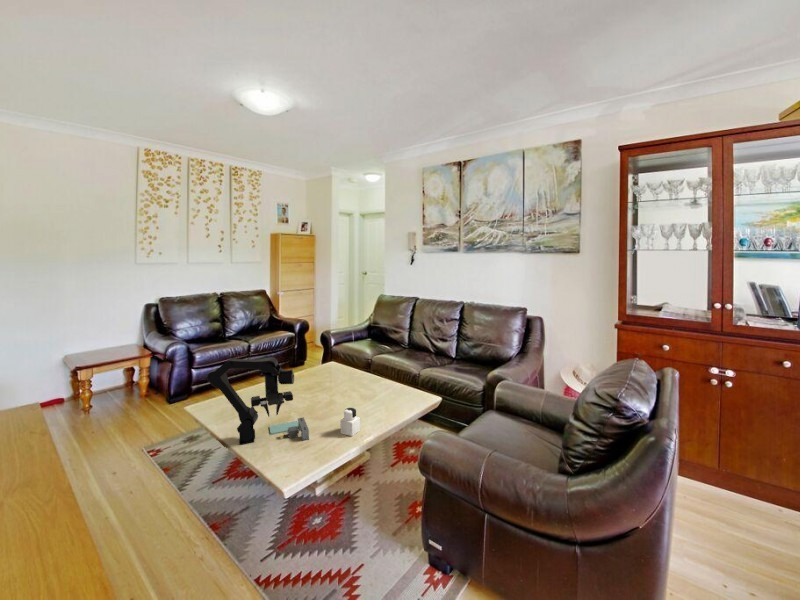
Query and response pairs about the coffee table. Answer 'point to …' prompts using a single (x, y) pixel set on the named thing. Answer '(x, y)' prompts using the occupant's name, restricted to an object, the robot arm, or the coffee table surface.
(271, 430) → the mat
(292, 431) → the plug
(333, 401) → the coffee table surface
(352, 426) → the medicine bottle
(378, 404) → the coffee table surface
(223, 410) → the coffee table surface
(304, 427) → the housing
